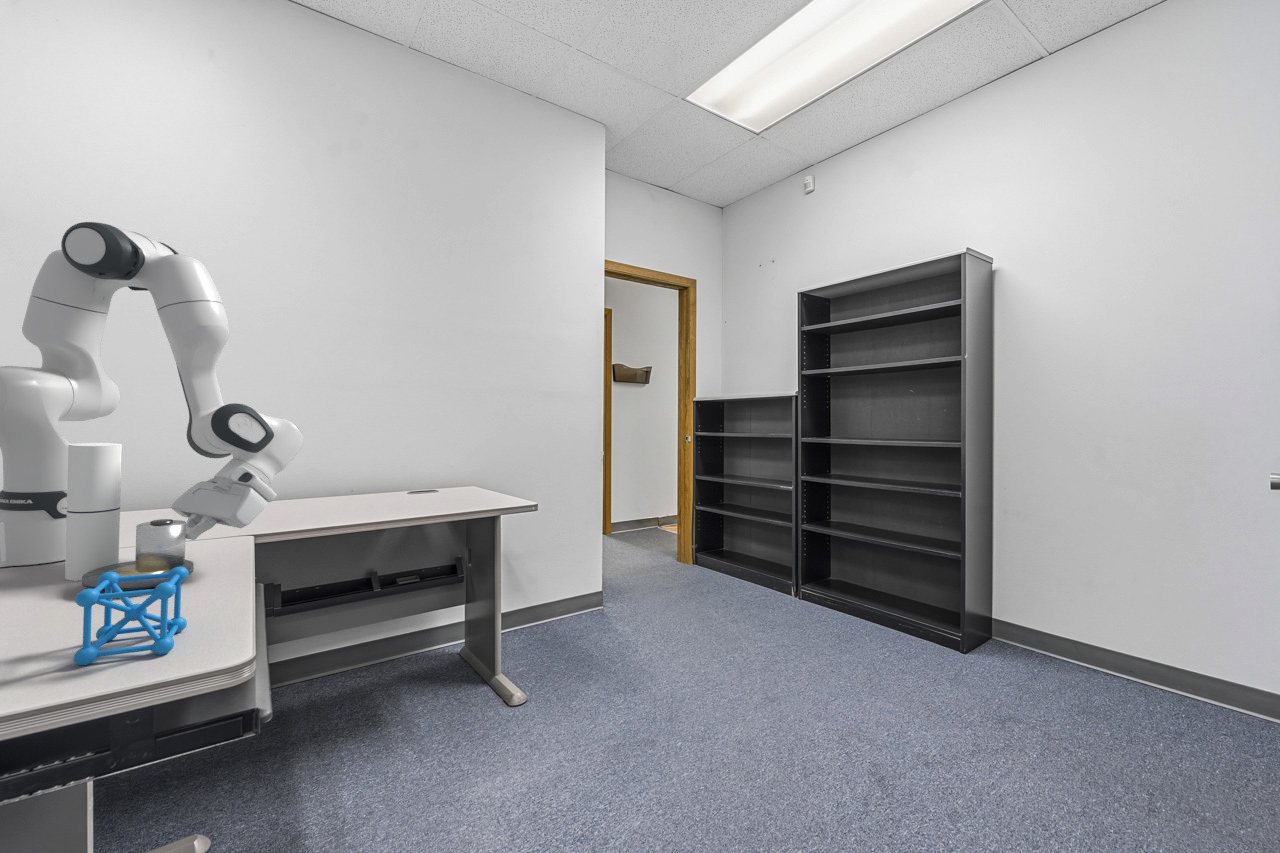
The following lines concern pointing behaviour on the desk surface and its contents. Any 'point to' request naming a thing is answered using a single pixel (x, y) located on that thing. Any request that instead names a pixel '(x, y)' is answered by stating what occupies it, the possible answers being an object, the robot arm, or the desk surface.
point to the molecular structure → (131, 614)
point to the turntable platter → (128, 570)
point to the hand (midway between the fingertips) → (185, 537)
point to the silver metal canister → (160, 545)
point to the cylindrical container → (92, 507)
